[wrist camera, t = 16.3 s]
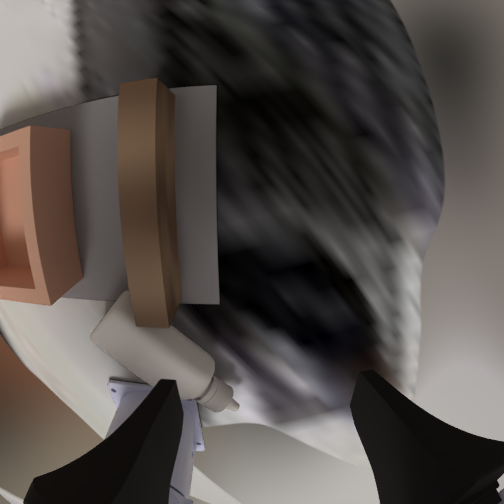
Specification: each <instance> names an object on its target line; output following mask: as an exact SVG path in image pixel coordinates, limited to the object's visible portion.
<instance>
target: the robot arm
mask: <svg viewBox="0 0 504 504" xmlns="http://www.w3.org/2000/svg"><path fill="white" fill-rule="evenodd" d="M107 385H108V388H109V390H110V393H111V396H112V398H113V400H114V403H115V405H116V408H117V411H116V413H115V415H114V418H113V420H112V423H111V425H110V427H109V430H108V432H107V435H106V437H105V440H104V441H103V442H101V443H100V444H99V445H97V446H96V447H95V448H93V449H92V450H90V451H89V452H87V453H86V454H84V455H83V456H81V457H80V458H78V459H76V460H75V461H73V462H71V463H69V464H67V465H65V466H63V467H61V468H59V469H57V470H54V471H52V472H49V473H47V474H44V475H41V476H38V477H36V478H34V480H33V481H32V483H31V486H30V487H29V490H28V492H27V494H26V497H25V499H24V501H23V503H24V504H193V501H192V500H190V499H187V498H188V496H189V494H190V488H191V480H192V471H193V463H194V455H195V451H204V450H205V443H204V439H203V433H202V428H201V423H200V418H199V412H198V407H197V402H196V401H195V400H194V399H187V400H181V399H180V395H179V391H178V387H177V382H176V380H172V379H160V380H159V381H158V382H157V384H156V385H155V386H154V387H152V386H151V385H146V384H138V383H130V382H122V381H115V380H109V382H108V384H107ZM350 408H351V412H352V416H353V420H354V424H355V427H356V430H357V432H358V435H359V437H360V440H361V442H362V445H363V447H364V449H365V452H366V454H367V457H368V459H369V462H370V464H371V467H372V470H373V473H374V477H375V481H376V485H377V490H378V494H379V499H380V504H504V489H503V490H501V491H500V492H499V493H498V492H497V490H496V488H498V487H499V483H498V481H497V480H498V479H499V478H500V477H501V476H502V474H503V473H504V442H503V441H497V440H492V439H487V438H483V437H480V436H476V435H473V434H470V433H467V432H465V431H462V430H460V429H458V428H455V427H453V426H451V425H449V424H447V423H445V422H443V421H441V420H439V419H438V418H436V417H434V416H433V415H431V414H429V413H428V412H426V411H425V410H423V409H422V408H420V407H419V406H417V405H416V404H415V403H413V402H412V401H411V400H409V399H408V398H407V397H405V396H404V395H403V394H402V393H400V392H399V391H398V390H397V389H396V388H394V387H393V386H392V385H391V384H390V383H388V382H387V381H386V380H385V379H384V378H383V377H381V376H380V375H379V374H378V373H377V372H375V371H374V370H373V369H372V370H366V371H360V372H359V374H358V378H357V382H356V386H355V389H354V393H353V396H352V400H351V403H350Z"/></svg>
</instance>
